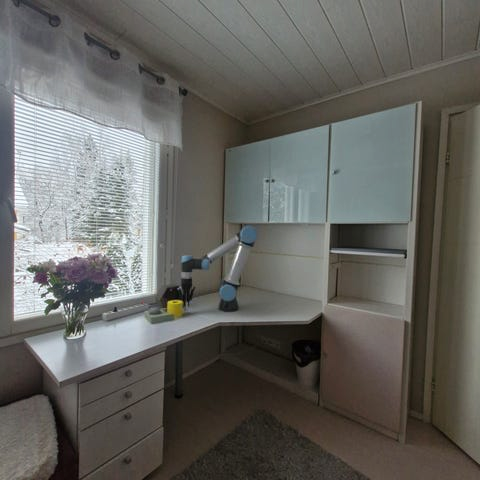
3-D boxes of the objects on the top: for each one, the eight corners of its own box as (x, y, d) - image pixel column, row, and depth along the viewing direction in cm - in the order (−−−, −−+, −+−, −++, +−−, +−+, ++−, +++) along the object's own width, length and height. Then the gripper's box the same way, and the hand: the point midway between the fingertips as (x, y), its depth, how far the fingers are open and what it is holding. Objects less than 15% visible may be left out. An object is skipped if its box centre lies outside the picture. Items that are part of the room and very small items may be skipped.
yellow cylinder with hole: (184, 313, 178) (184, 300, 177) (179, 318, 168) (179, 304, 167) (170, 313, 179) (171, 299, 179) (164, 317, 169) (165, 303, 169)
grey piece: (166, 313, 178) (166, 303, 178) (173, 319, 166) (173, 309, 165) (144, 317, 170) (144, 306, 169) (151, 324, 157) (151, 312, 157)
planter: (155, 307, 176) (170, 280, 183) (150, 304, 181) (165, 279, 188) (173, 316, 186) (187, 290, 193) (168, 313, 191) (182, 288, 198)
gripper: (193, 275, 185) (192, 308, 185) (175, 277, 177) (175, 310, 178) (197, 277, 178) (196, 310, 179) (179, 279, 171) (179, 313, 172)
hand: (185, 310), depth 179 cm, fingers closed
